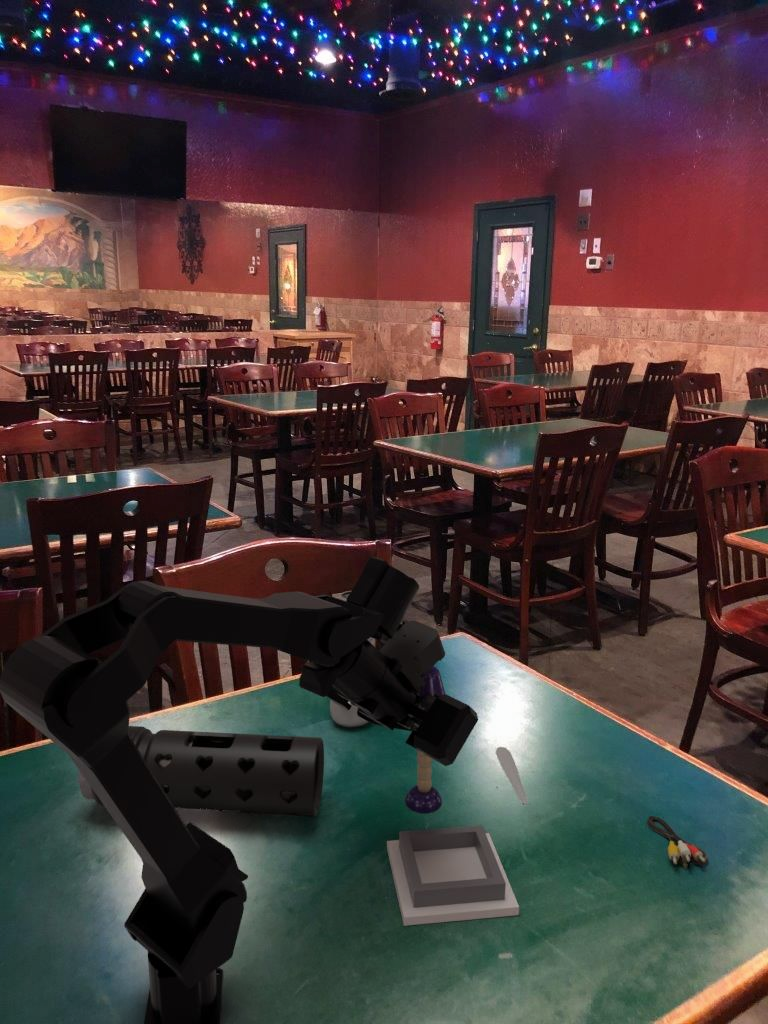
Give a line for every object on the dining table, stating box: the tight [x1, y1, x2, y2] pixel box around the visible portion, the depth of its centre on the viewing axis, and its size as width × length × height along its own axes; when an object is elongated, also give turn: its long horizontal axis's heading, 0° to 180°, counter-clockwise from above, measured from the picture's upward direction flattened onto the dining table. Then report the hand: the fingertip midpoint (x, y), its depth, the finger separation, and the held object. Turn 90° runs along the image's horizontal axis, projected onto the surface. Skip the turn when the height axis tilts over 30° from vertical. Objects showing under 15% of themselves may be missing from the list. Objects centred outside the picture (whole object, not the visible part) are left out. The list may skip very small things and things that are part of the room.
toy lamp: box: [404, 665, 446, 815], centre depth 93 cm, size 5×5×17 cm
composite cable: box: [646, 815, 709, 870], centre depth 96 cm, size 10×5×2 cm, turn 3°
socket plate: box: [386, 825, 520, 927], centre depth 90 cm, size 12×12×3 cm
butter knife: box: [495, 746, 528, 805], centre depth 103 cm, size 1×27×3 cm
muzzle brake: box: [78, 725, 325, 818], centre depth 100 cm, size 10×28×10 cm, turn 86°
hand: (432, 734), depth 94 cm, fingers closed on toy lamp, 4 cm apart
